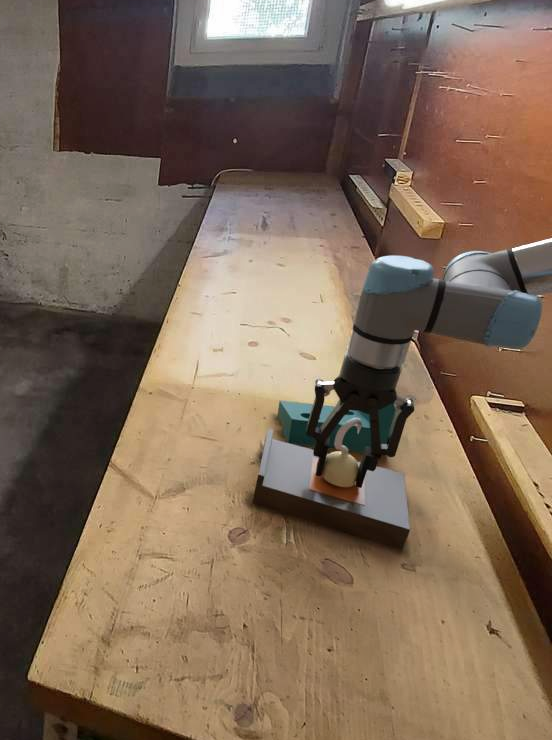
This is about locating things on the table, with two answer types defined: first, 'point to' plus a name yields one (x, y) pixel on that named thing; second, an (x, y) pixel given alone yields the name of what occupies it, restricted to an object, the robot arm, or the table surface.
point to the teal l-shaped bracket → (298, 415)
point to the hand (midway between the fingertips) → (338, 476)
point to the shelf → (332, 495)
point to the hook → (342, 459)
